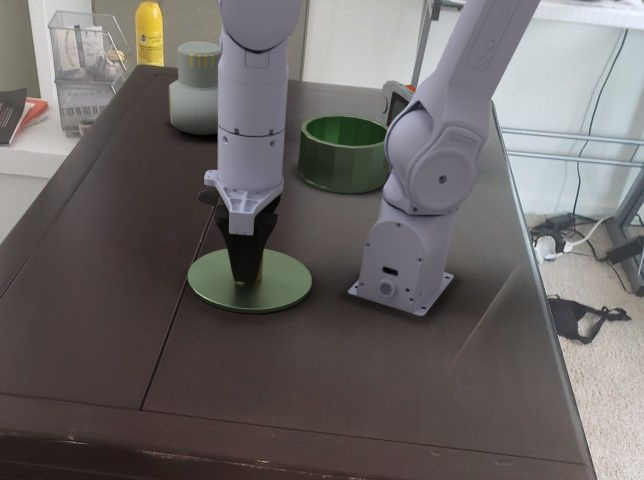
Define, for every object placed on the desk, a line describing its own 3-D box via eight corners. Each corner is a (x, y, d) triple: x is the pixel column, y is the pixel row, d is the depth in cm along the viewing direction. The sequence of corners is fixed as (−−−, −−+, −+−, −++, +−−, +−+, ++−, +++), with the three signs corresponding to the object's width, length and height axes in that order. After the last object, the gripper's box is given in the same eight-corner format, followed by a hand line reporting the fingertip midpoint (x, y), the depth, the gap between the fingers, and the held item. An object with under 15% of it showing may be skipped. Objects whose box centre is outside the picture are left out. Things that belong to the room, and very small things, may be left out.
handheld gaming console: (371, 137, 104) (380, 73, 99) (390, 135, 105) (400, 72, 100) (416, 177, 95) (429, 110, 89) (437, 176, 96) (451, 109, 90)
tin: (364, 201, 89) (371, 154, 85) (282, 179, 93) (285, 133, 89) (399, 171, 96) (406, 127, 92) (321, 151, 100) (325, 108, 96)
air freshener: (235, 143, 100) (236, 60, 93) (173, 143, 99) (170, 59, 92) (226, 115, 108) (227, 36, 101) (169, 115, 107) (166, 34, 99)
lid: (274, 333, 68) (277, 282, 64) (163, 294, 72) (160, 244, 68) (331, 278, 76) (337, 230, 72) (228, 246, 79) (229, 198, 76)
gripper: (215, 94, 68) (215, 235, 78) (192, 153, 58) (195, 307, 68) (292, 100, 68) (282, 241, 78) (282, 160, 58) (272, 314, 67)
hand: (246, 272), depth 73 cm, fingers closed on lid, 2 cm apart
